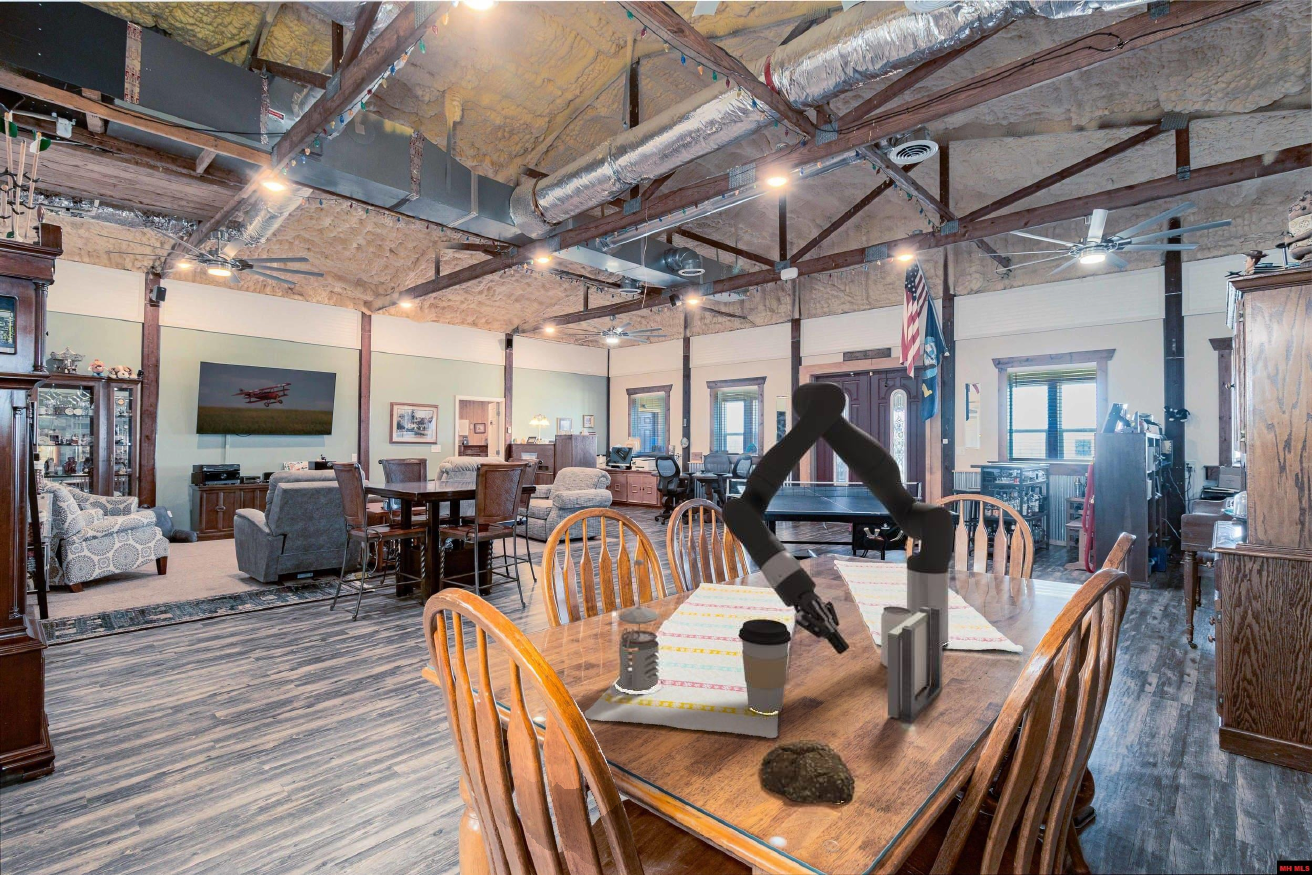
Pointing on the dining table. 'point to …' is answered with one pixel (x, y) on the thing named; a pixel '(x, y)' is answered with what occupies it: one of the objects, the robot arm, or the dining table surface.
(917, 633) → the gate
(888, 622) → the can
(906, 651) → the gate frame
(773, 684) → the coffee cup
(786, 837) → the dining table surface
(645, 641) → the french press
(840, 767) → the bread roll
